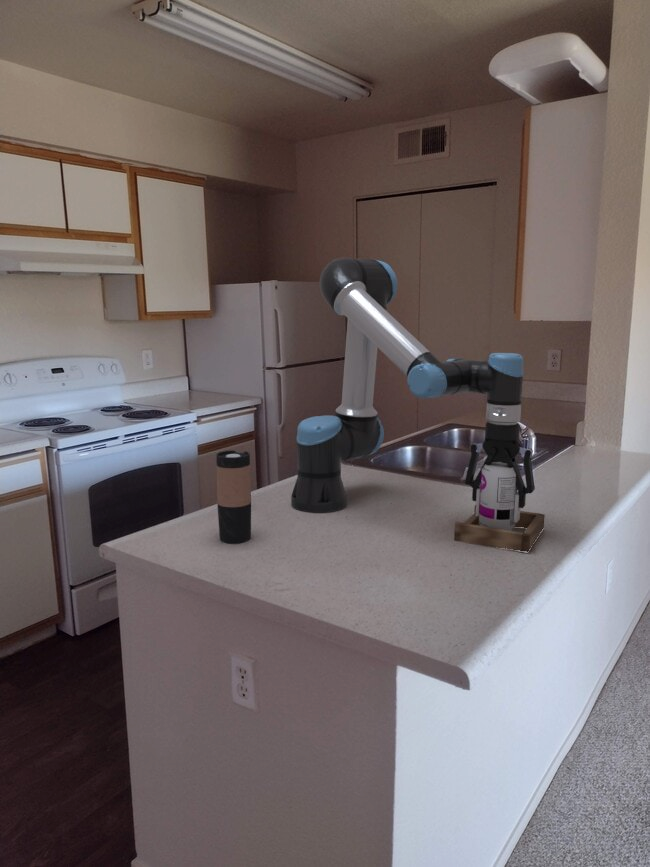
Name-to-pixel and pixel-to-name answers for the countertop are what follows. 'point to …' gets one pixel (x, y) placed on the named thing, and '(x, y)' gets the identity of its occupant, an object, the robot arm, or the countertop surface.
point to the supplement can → (497, 496)
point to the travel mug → (234, 496)
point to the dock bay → (501, 532)
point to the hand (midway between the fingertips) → (497, 517)
